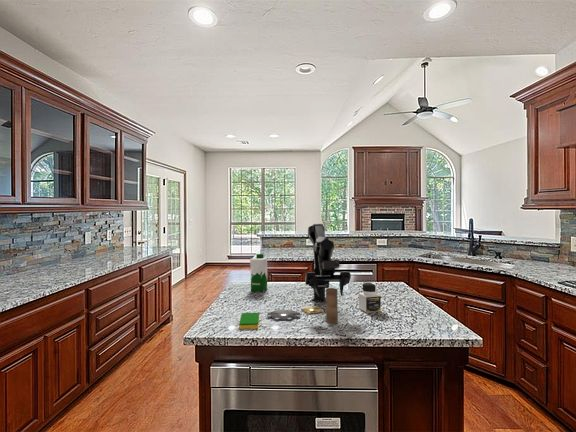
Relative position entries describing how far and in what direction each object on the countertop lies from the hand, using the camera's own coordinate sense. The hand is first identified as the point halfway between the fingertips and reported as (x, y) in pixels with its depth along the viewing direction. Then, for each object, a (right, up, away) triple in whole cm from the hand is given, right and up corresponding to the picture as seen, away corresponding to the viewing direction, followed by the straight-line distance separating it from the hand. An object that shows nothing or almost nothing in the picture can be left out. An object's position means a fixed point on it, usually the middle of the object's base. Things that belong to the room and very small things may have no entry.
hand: (330, 295), depth 135 cm
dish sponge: (-32, -11, -2) cm, 34 cm away
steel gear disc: (-19, -10, +6) cm, 22 cm away
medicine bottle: (+19, -10, +13) cm, 25 cm away
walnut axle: (0, -10, -2) cm, 10 cm away
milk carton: (-34, -10, +53) cm, 63 cm away
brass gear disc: (-6, -10, +12) cm, 17 cm away
